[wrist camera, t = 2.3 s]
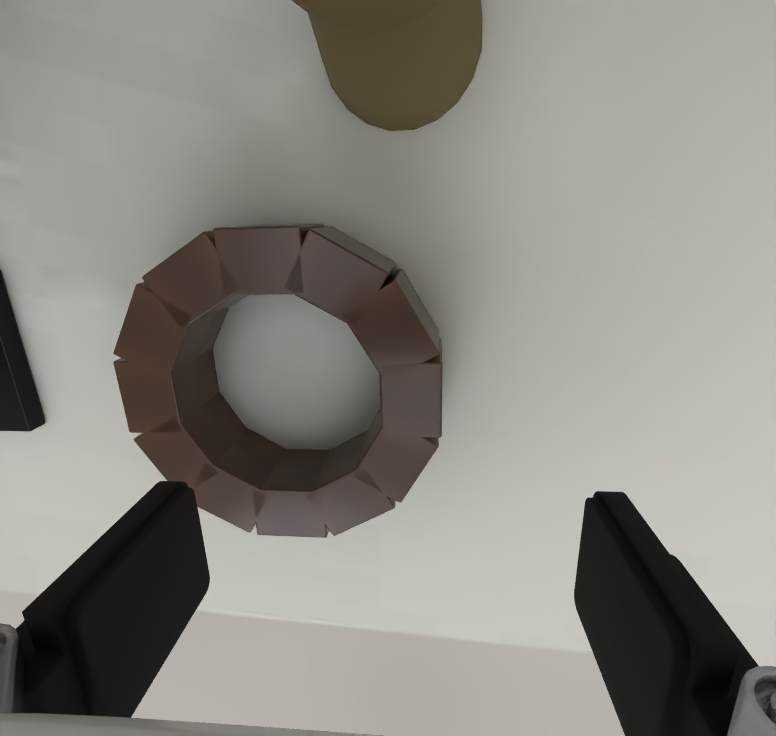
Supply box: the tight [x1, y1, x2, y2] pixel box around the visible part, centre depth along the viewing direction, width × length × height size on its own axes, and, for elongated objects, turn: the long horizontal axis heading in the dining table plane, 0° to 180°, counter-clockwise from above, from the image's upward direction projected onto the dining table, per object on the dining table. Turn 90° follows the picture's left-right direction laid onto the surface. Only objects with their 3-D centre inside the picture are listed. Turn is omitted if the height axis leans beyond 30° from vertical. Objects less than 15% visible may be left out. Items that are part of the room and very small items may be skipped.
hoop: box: [114, 224, 442, 538], centre depth 20 cm, size 13×13×4 cm
